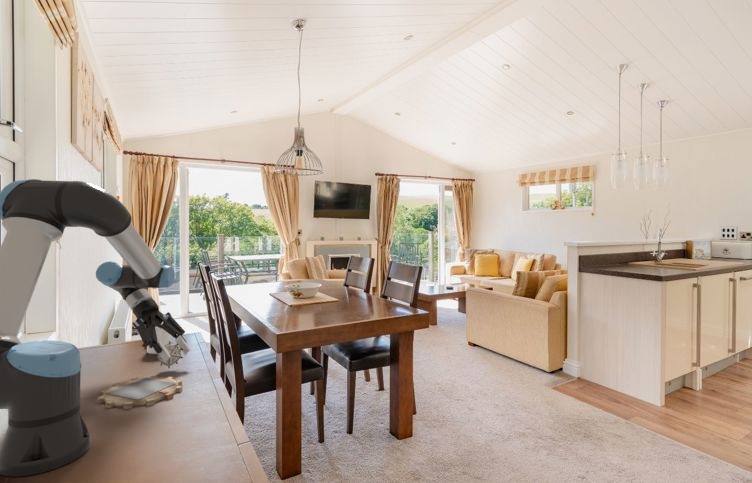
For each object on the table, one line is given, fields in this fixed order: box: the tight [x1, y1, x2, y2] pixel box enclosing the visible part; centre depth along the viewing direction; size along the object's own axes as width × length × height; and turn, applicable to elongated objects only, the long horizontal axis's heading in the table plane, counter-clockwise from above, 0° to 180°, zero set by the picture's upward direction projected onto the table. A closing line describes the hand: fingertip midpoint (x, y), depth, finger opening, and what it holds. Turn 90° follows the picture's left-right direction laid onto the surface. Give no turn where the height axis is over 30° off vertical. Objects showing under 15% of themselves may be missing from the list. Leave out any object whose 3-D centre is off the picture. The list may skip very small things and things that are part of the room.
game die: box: [154, 341, 184, 369], centre depth 137 cm, size 9×8×10 cm
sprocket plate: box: [97, 375, 183, 410], centre depth 118 cm, size 21×21×1 cm
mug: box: [146, 322, 173, 355], centre depth 157 cm, size 9×12×11 cm
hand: (178, 355), depth 136 cm, fingers closed on game die, 8 cm apart
